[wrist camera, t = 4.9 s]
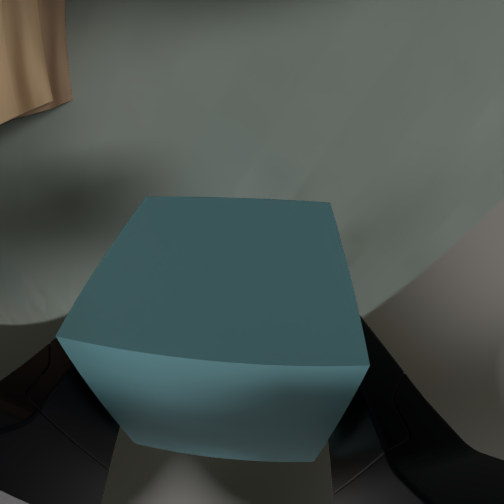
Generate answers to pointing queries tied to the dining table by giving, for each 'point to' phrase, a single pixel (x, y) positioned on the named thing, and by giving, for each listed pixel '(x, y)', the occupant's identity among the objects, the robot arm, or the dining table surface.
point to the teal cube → (222, 328)
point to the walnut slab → (54, 53)
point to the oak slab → (21, 60)
